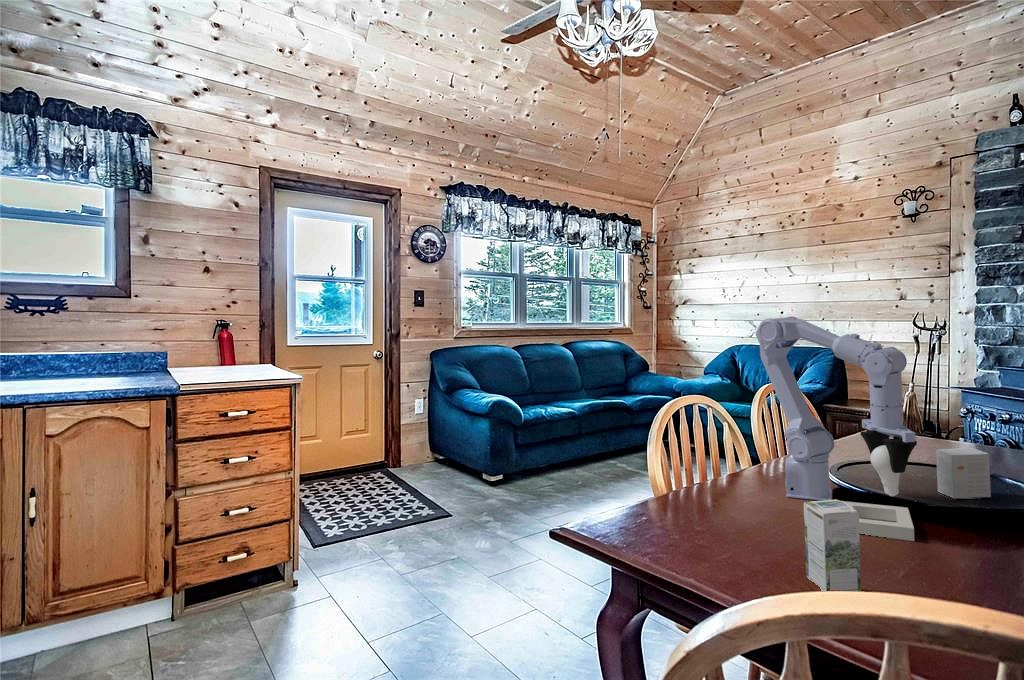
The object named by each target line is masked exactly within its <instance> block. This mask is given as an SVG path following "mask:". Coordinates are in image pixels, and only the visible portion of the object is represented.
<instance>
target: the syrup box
mask: <svg viewBox="0 0 1024 680" xmlns="http://www.w3.org/2000/svg"><path fill="white" fill-rule="evenodd" d="M842 501H843V500H839V499H832V500H824V501H822V500H814V501H813V500H812V501H804V502H803V524H804V547H805V548H804V549H805V550H804V551H805V578H806V577H807V578H808V579H809V580H811V581H812V582H814V583H815V584H816V585H818V586H819V587H820V589H821V591H831V590H841V591H861V592H862V587H861V585H862V584H861V583H862V582H861V579H862V578H861V577H862V576H861V546H860V534H859V512H857V511H856V510H855V509H853V508H852V507H851V506H849V505H847V504H846V503H844V502H842Z"/></svg>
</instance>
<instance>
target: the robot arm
mask: <svg viewBox="0 0 1024 680" xmlns="http://www.w3.org/2000/svg"><path fill="white" fill-rule="evenodd" d="M755 336H756V338H757V340H758V343H759V355H760V356H759V357H760V360H761V362H762V365H763V366H764V368H765V372H766V374H767V375H768V378H769V381H770V383H771V385H772V387H773V389H774V392H775V394H776V397H777V398H778V401H779V403H780V405H781V409H782V410H783V413H784V415H785V417H786V419H787V421H788V425H787V427H786V429H785V431H784V434H785V437H786V443H787V450H788V453H790V455H791V456H792V457H791V456H789V457H788V456H787V457H786V458H785V471H784V472H785V483H784V485H785V490H786V491H785V492H786V496H785V497H787V498H794V499H804V500H805V499H806V500H812V501H813V500H814V501H824V500H833V489H831V488H830V485H831V484H830V467H829V464H830V463H829V462H830V461H829V458H830V453H831V452H833V450H834V448H835V439H834V437H833V435H832V434H831V433H830V432H829V431H828V430H827V429H826V428H825V425H824V424H823V422H822V421H820V420H819V419H818V418H816V417H815V416H813V415H812V413H811V410H810V408H809V405H808V404H807V401H806V398H805V396H804V394H803V392H802V390H801V388H800V386H799V383H798V381H797V379H796V377H795V374H794V373H793V370H792V368H791V366H790V363H789V361H788V359H787V356H788V354H789V351H790V350H791V349H792V347H793V346H794V345H795V344H796V343H797V342H798V341H799V340H800V339H803V340H805V341H807V342H810V343H813V344H816V345H819V346H821V347H824V348H827V349H830V350H832V352H833V354H834V356H835V357H836V358H837V359H840V360H843V361H845V362H847V363H850V364H853V365H854V366H857V367H859V368H862V369H863V371H864V372H865V374H867V376H868V382H869V383H868V385H869V404H870V405H869V407H870V418H862V419H861V427H862V429H864V431H863V430H862V431H860V436H861V437H862V438H863V441H864V442H865V444H866V446H867V448H868V451H869V454H870V455H871V453H872V451H873V450H874V449H875V448H877V447H879V446H883V445H886V447H887V450H888V453H889V457H890V464H891V469H892V472H893V473H900V474H901V473H905V472H906V468H907V465H908V462H909V459H910V455H911V453H912V452H913V450H914V449H915V447H916V446H917V443H918V442H917V440H916V432H915V431H912V430H910V429H909V428H908V427H907V426H905V425H904V413H903V412H904V411H903V407H904V406H903V384H902V383H903V382H902V379H903V378H902V372H903V371H904V370H905V369H906V366H907V362H908V360H907V357H906V355H905V353H904V352H903V351H901V349H900V350H899V349H898V348H897V347H895V346H887V347H882V343H879V342H871V341H868V340H865V339H863V338H860V336H861V335H860V334H857V333H850V334H849V333H848V334H847V333H846V334H843V335H842V336H840V335H838V334H835V333H833V332H831V331H828V330H826V329H825V328H822V327H820V326H817V325H815V324H813V323H811V322H809V321H807V320H805V319H802V318H798V317H796V316H786V317H778V318H770V317H769V318H764V319H763V320H762V321H760V323H759V325H758V328H757V330H756V332H755ZM865 430H866V431H865ZM891 437H893V438H891Z"/></svg>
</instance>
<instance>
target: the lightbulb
mask: <svg viewBox="0 0 1024 680" xmlns="http://www.w3.org/2000/svg"><path fill="white" fill-rule="evenodd" d="M869 459H870V463H871V466H872V467H873V468H874V469H875V471H876V472H877V473H878V475H879V478H880V481H881V484H882V485H883V491H884V493H885V494H886V495H888V496H890V497H895V496H896V495H899V493H900V489H899V484H900V476H901V473H893V472H892V469H891V464H890V457H889V453H888V450H887V447H886V445H883V446H879V447H877V448H875V449H874V450H873V451H872V453H871V454H870V458H869Z"/></svg>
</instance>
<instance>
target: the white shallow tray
mask: <svg viewBox="0 0 1024 680" xmlns="http://www.w3.org/2000/svg"><path fill="white" fill-rule="evenodd" d="M841 501H842V502H844V503H846V504H847V505H849V506H851V507H852V508H853V509H855V510H856V511H857V512H859V533H860V534H865V535H864V536H868V535H871V536H870V537H876V536H878V538H884V537H886V539H891V540H892V539H893V540H899V541H900V540H902V541H907V542H908V541H910V542H915V527H914V524H913V520H912V518H911V513H910V510H909V507H906V506H905V507H904V506H896V505H895V506H894V505H884V504H873V503H864V502H854V501H846V500H845V501H844V500H841ZM860 534H859V535H860Z"/></svg>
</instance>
